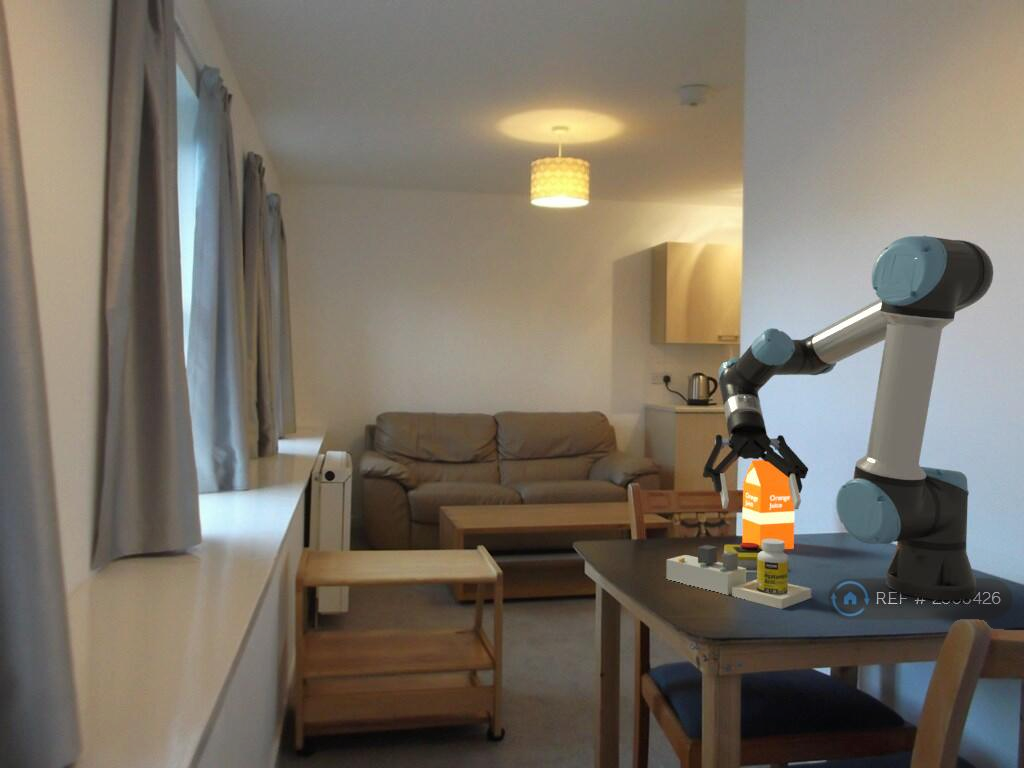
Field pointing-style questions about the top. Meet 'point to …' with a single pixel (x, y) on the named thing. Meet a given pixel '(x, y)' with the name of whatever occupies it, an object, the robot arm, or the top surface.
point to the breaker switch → (707, 554)
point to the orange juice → (767, 505)
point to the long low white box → (707, 573)
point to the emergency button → (746, 555)
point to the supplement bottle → (772, 568)
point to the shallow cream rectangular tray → (751, 594)
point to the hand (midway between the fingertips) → (761, 505)
